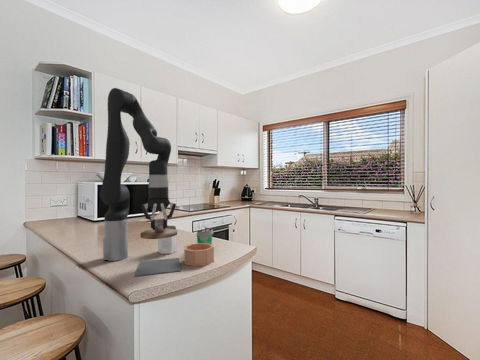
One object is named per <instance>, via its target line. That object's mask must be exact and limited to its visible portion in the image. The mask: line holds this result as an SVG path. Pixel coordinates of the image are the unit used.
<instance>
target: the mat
mask: <svg viewBox="0 0 480 360" xmlns="http://www.w3.org/2000/svg"><path fill="white" fill-rule="evenodd" d="M181 269H182V267H181V261H180V257H174V258H163V259H152V260H142V261H139V263H138V267H137V269H136V272H135V276H134V277H144V276H150V275H151V276H152V275H153V276H154V275H158V274H159V275H160V274H168V273H177V272H181V271H182V270H181Z"/></svg>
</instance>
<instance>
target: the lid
mask: <svg viewBox="0 0 480 360" xmlns="http://www.w3.org/2000/svg"><path fill="white" fill-rule="evenodd" d="M154 225H155V230H153V229H148V230H144V231H142V232H140V235H139V236H140V238H141V239H145V240H158V239H161V238H168V237H172V236H175V235H177V236H178V230H177V228H176V229H164V218H156V219H155V218H154Z"/></svg>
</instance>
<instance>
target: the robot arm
mask: <svg viewBox="0 0 480 360" xmlns="http://www.w3.org/2000/svg"><path fill="white" fill-rule="evenodd" d="M143 110H144V109H143V108H142V106H141V104H140V102H139V101H138V99H137V97H136V96H135V95H134V94H132V93H130V92H128V91H125V90H123V89H121V88H118V87H113V88H111V89H110V91H109V93H108V96H107V135H106V142H105V143H106V144H105V145H106V146H105V147H106V148H105V161H104V175H103V179H102V184H101V190H100V199H101V201H102V202H103V203H104V204H105V205H107V206H108V207H109V208H108V210H107V212H106V213H105V214H104V238H103V240H102V242H103V243H102V246H103V247H102V248H103V249H102V250H103V252H102V253H103V255H102V256H103V257H102V258H103V260H108V261H107V262H114V261H115V262H116V261H122V260H124V259H127V258H129V257H128V256H129V255H128V254H129V250H128V247H129V245H128V244H129V243H128V240H129V239H128V215H129V212H130V198H131V195H130V191H129V189H128V187H127V186H126V185H124V184H121V183H122V182H121V181H122V174H123V170H124V168H125V166H126V165H127V164H126V163H127V162H128V159H129V155H130V145H131V142H130V138H129V135H128V134H127V131H126V129H125V126H123V123H122V113H125V114H128V115H129V116H131V118H132V126H133V129H134V131H135V132H136V134H138V136H139V137H140V140H141V143H142V146H143V149H144V151H146V152H147V153H149V154H151V155H157V157H156V159H154V160H151V161H149V164H148V174H149V175H148V201H147V203H144V204H141V206H140V208H141V211H142V213H143V215H144V217H145V218H144V219H146V220H149V221H150V230H155V225H154V220H155V216H156V213H157V212H160V213H162V215H163V219H164V229H166V228H167V226H168V220H170V219H171V218H172V217H173V214H174V212H175V209H176V206H177V204H176V203H174V202H170V199H169V178H168V164H169V160H170V156H171V151H172V144H171V141H170V140H169V139H168V138H166V137H162V136H160V137H159V136H158V130H157V129H156V128H155V126H154V125H153V123H151V121H150V120H149V119H148V117H147V116H146V114H145V111H143ZM169 206H170V211H169V214H167V211H166V210H167V208H168V207H169ZM148 208H150V209H151V210H152V211H151V214H150V215H149V213H148Z"/></svg>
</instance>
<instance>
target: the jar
mask: <svg viewBox="0 0 480 360" xmlns="http://www.w3.org/2000/svg"><path fill="white" fill-rule="evenodd" d="M166 229H176V230H177V227H176V226H175V225H167V228H166ZM177 251H178V234H177V235H175V236H172V237H168V238H161V239H157V253H159V254H161V255H169V254H173V253H175V252H177Z"/></svg>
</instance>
